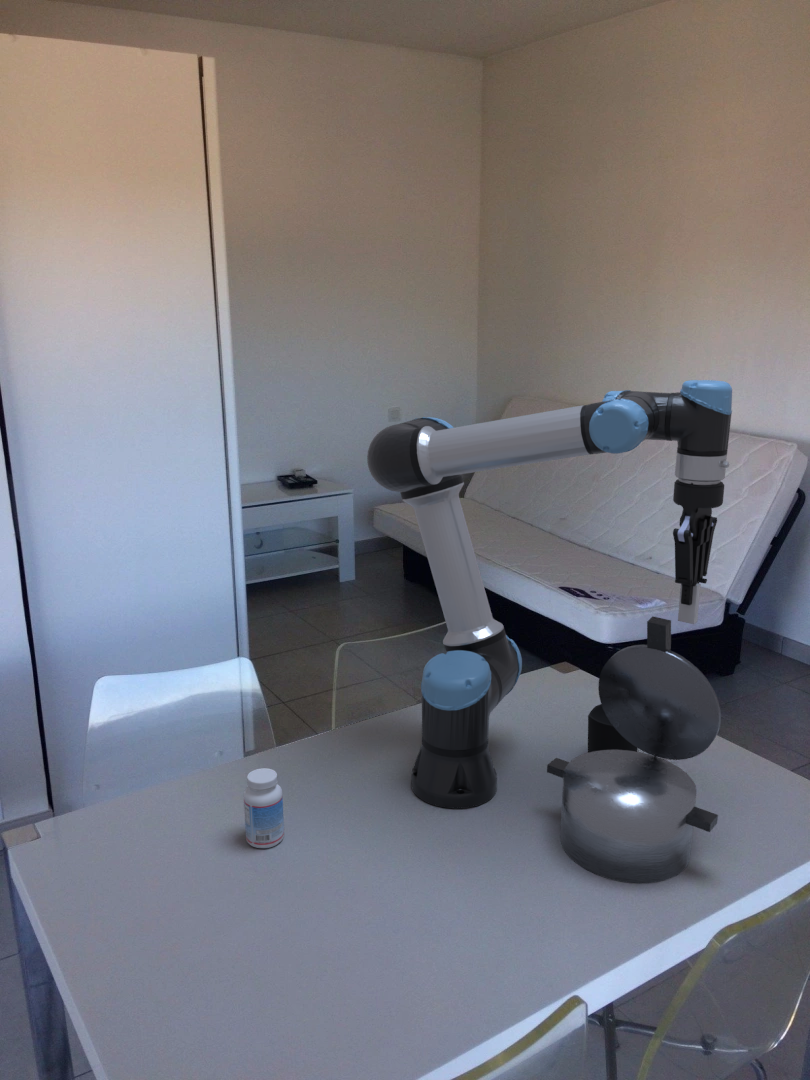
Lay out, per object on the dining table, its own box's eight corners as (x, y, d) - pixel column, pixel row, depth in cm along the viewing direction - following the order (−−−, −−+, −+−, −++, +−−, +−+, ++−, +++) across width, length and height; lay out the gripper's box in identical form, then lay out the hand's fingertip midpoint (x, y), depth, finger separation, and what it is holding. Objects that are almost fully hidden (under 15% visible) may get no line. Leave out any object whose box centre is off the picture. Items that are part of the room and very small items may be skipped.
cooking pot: (517, 840, 140) (520, 778, 137) (577, 788, 155) (581, 732, 152) (682, 911, 123) (688, 842, 120) (731, 846, 138) (738, 783, 136)
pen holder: (647, 770, 161) (651, 720, 158) (604, 780, 158) (608, 729, 155) (617, 747, 169) (620, 700, 167) (575, 756, 166) (578, 708, 163)
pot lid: (596, 610, 140) (604, 603, 142) (599, 738, 150) (607, 729, 152) (720, 639, 128) (727, 631, 130) (716, 776, 138) (722, 766, 140)
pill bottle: (291, 833, 141) (289, 770, 139) (270, 853, 136) (267, 788, 133) (259, 824, 144) (257, 762, 141) (238, 844, 139) (234, 780, 136)
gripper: (708, 489, 131) (695, 637, 137) (737, 476, 141) (724, 615, 147) (660, 483, 136) (649, 627, 142) (691, 471, 146) (680, 606, 152)
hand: (687, 621), depth 144 cm, fingers closed
